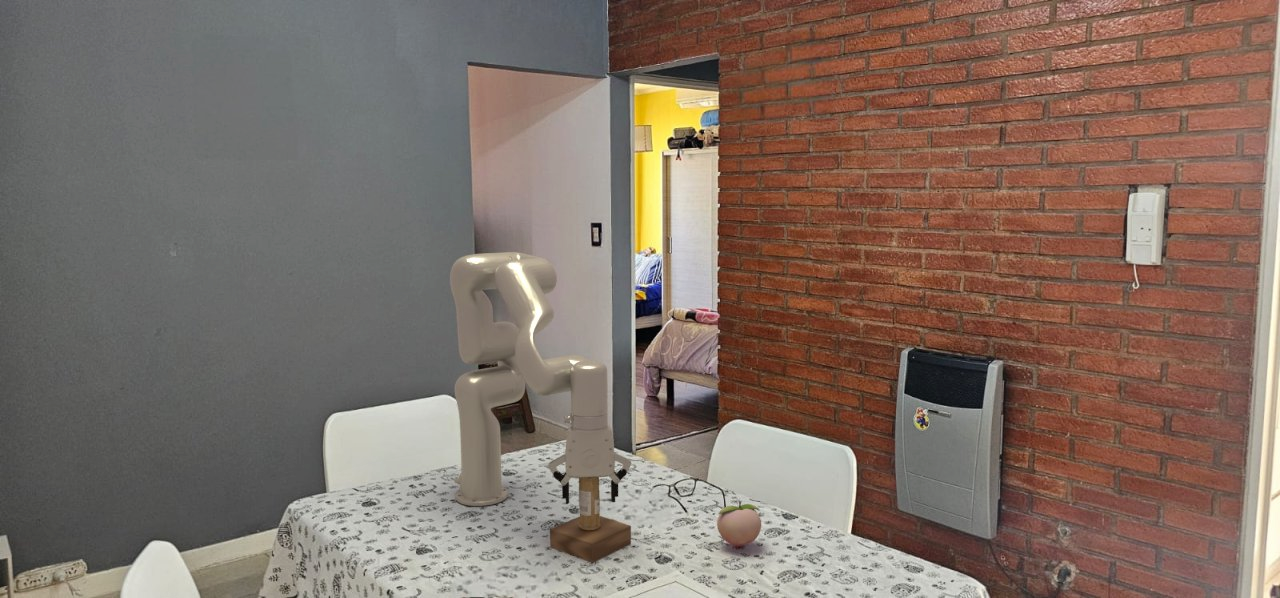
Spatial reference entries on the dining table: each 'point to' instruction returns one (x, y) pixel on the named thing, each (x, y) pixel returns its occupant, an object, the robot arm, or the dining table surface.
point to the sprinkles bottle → (589, 503)
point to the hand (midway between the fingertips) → (590, 500)
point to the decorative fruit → (739, 524)
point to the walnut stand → (590, 539)
